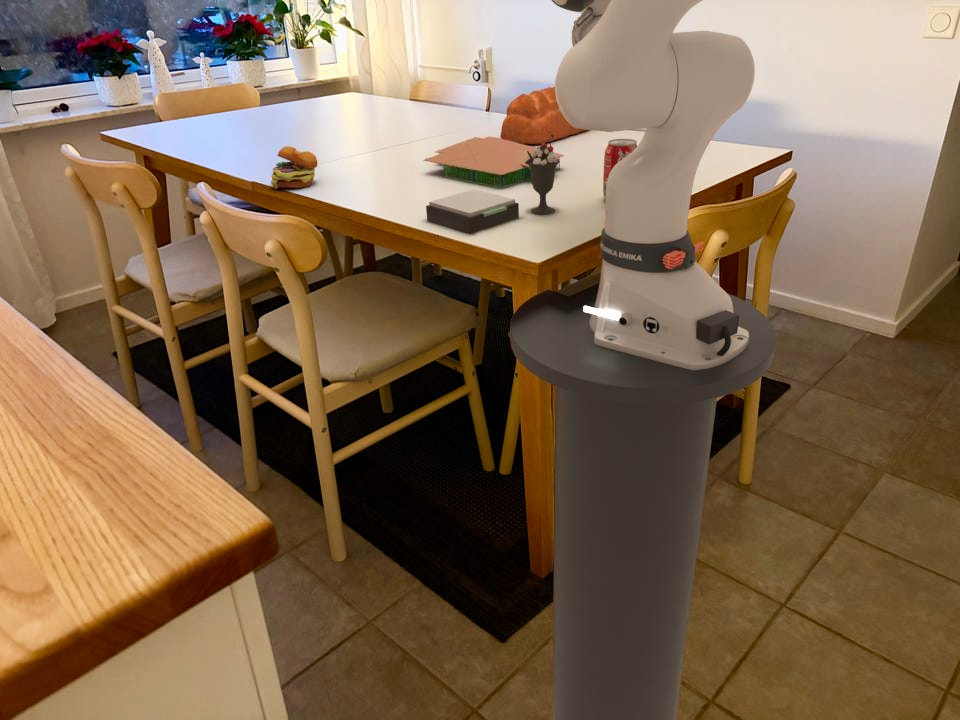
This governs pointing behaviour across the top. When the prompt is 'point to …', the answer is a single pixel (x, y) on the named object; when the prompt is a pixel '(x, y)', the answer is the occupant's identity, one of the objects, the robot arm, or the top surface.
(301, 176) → the cheeseburger
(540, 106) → the bread
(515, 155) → the house
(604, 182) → the soda can
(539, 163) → the sundae
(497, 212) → the scale
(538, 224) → the top surface
